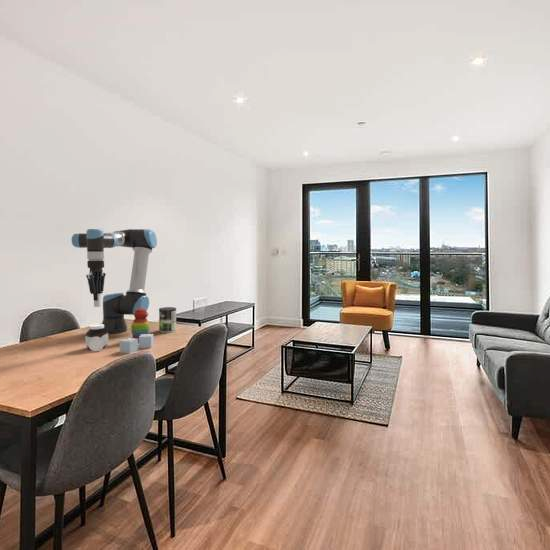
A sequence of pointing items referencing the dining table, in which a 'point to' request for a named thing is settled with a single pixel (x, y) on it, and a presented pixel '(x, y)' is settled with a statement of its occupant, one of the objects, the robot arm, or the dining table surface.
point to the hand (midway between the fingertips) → (97, 306)
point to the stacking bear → (140, 323)
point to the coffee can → (167, 319)
